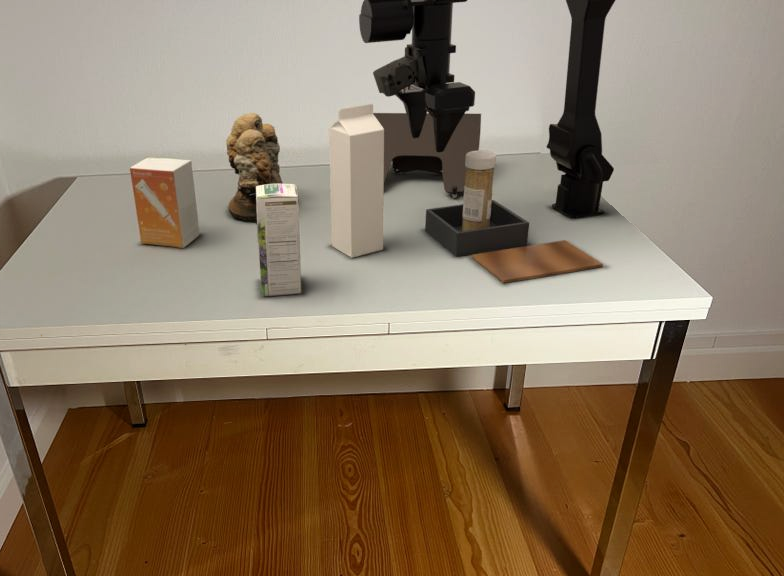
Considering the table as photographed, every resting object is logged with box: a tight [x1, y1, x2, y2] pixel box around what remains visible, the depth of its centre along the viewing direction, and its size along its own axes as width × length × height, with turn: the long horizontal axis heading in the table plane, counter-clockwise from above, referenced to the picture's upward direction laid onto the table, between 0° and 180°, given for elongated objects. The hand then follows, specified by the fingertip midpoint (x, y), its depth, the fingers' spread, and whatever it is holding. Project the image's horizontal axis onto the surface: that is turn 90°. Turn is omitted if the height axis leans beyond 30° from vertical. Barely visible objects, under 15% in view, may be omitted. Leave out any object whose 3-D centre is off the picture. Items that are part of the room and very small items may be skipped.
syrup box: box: [255, 183, 302, 297], centre depth 105 cm, size 6×6×14 cm
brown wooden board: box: [471, 239, 604, 284], centre depth 113 cm, size 16×10×1 cm, turn 106°
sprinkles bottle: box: [462, 149, 497, 231], centre depth 119 cm, size 5×5×13 cm
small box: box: [129, 157, 201, 249], centre depth 124 cm, size 8×6×13 cm
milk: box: [328, 103, 385, 259], centre depth 115 cm, size 6×6×22 cm
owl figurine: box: [225, 112, 284, 221], centre depth 135 cm, size 18×12×17 cm, turn 174°
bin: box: [424, 199, 530, 257], centre depth 121 cm, size 12×12×4 cm
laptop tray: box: [373, 112, 482, 199], centre depth 148 cm, size 23×23×9 cm
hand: (427, 144), depth 118 cm, fingers open, 9 cm apart
